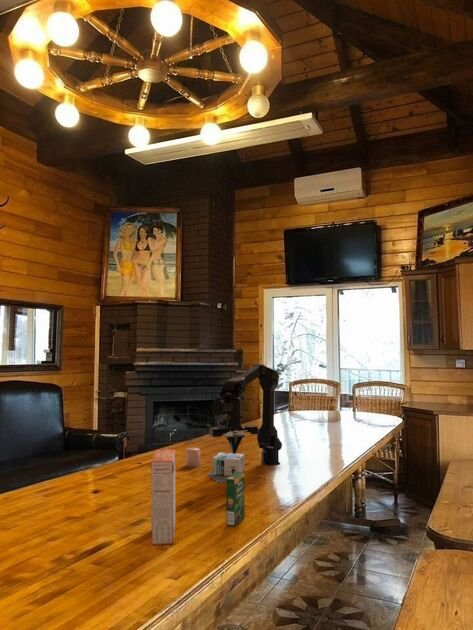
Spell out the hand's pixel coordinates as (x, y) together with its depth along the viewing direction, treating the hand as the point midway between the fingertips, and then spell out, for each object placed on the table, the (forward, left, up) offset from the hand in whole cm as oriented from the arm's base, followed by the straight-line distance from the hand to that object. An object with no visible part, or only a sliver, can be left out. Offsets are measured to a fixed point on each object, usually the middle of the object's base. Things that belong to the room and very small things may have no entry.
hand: (234, 453), depth 188 cm
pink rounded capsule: (+10, -22, -9) cm, 26 cm away
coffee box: (+16, +47, -9) cm, 51 cm away
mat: (+3, 0, -9) cm, 9 cm away
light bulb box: (-4, -1, -5) cm, 7 cm away
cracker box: (+37, +49, -9) cm, 62 cm away
